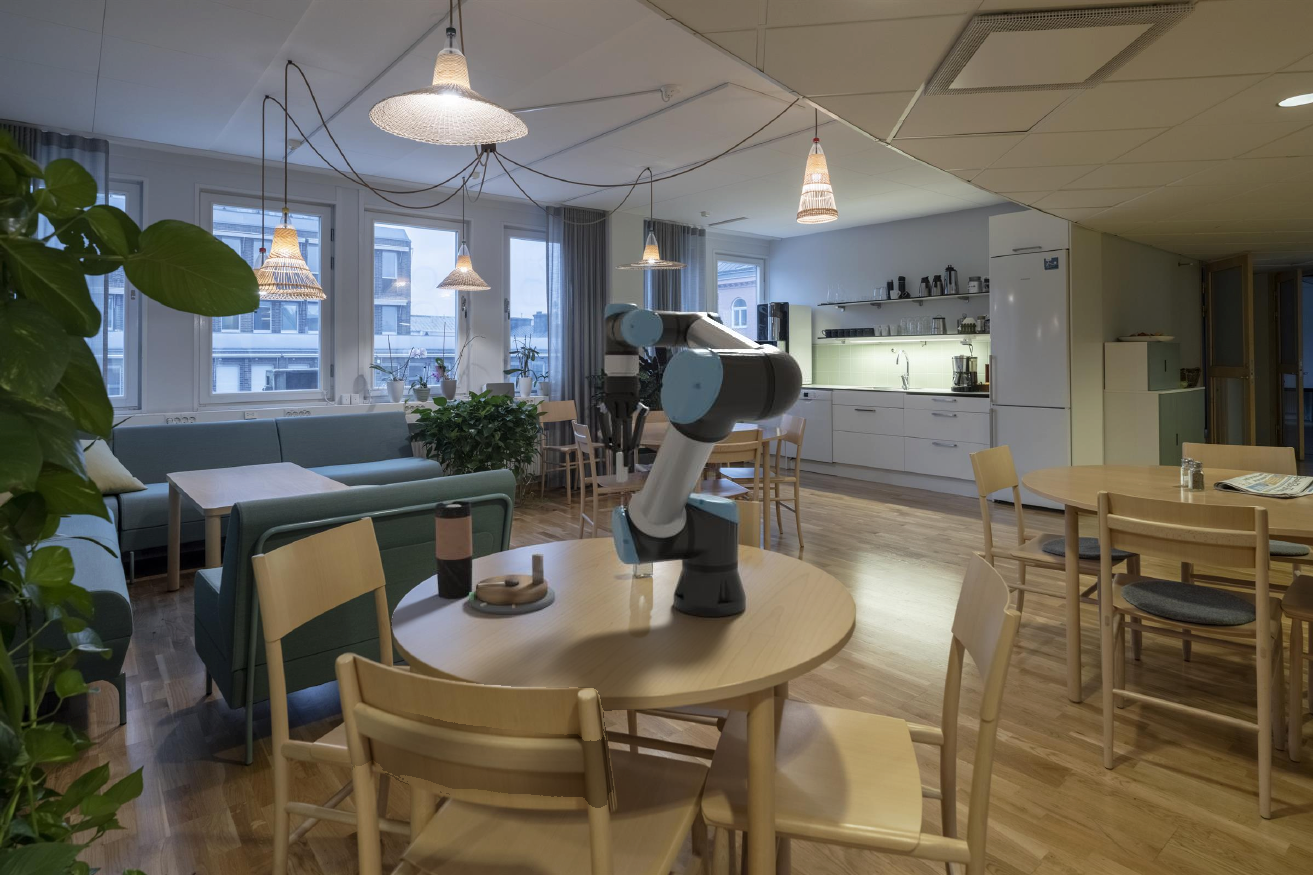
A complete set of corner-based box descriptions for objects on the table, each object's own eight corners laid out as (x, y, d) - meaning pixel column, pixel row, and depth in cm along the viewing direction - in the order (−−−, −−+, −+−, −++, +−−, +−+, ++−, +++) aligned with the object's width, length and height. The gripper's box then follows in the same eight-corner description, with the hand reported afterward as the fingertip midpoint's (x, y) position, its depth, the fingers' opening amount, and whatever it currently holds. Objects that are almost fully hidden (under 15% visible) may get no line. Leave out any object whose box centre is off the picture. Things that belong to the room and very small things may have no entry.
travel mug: (463, 600, 157) (461, 508, 155) (430, 598, 158) (428, 506, 156) (479, 589, 164) (477, 501, 162) (447, 587, 166) (445, 500, 164)
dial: (544, 581, 166) (543, 546, 165) (551, 601, 151) (550, 563, 150) (475, 585, 162) (475, 550, 161) (476, 607, 148) (475, 568, 147)
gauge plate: (569, 593, 162) (569, 585, 162) (525, 619, 145) (525, 610, 145) (500, 584, 168) (500, 576, 168) (450, 607, 152) (450, 599, 152)
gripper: (655, 375, 162) (655, 480, 164) (602, 374, 167) (603, 477, 169) (642, 375, 155) (642, 485, 158) (587, 375, 160) (588, 481, 162)
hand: (621, 481), depth 163 cm, fingers closed
